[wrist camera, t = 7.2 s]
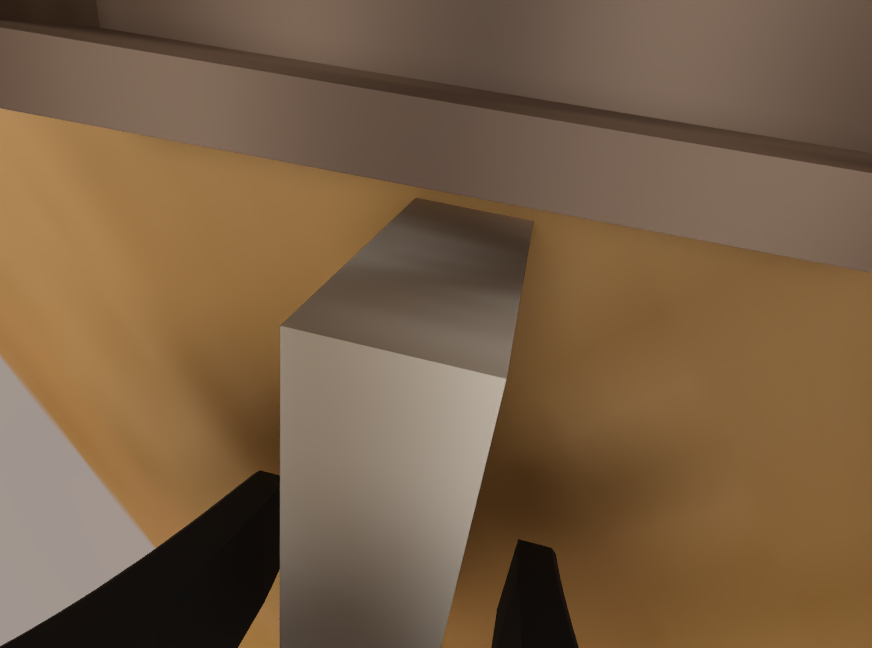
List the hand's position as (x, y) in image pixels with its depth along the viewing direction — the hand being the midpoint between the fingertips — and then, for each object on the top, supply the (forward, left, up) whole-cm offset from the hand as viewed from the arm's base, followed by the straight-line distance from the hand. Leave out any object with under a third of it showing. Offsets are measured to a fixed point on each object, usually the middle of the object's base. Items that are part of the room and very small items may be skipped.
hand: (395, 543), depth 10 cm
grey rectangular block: (0, 0, -4) cm, 4 cm away
